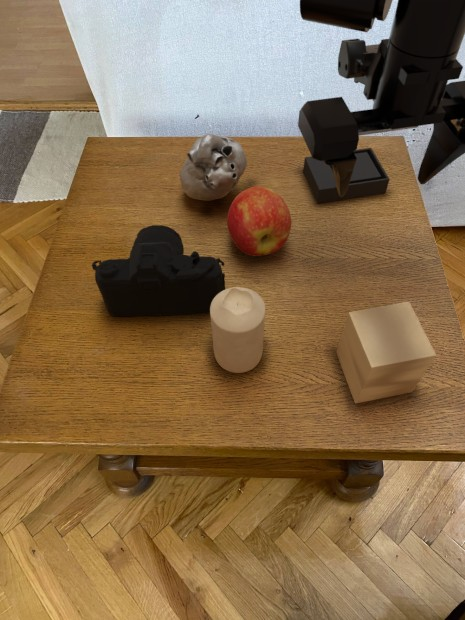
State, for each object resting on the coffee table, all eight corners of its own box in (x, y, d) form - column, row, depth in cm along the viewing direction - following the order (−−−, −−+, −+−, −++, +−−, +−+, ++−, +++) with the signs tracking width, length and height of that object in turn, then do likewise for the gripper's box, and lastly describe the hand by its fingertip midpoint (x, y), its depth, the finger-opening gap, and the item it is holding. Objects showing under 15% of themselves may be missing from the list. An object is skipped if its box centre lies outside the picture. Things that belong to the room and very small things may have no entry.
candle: (220, 379, 53) (217, 329, 45) (208, 337, 56) (203, 284, 48) (268, 366, 54) (273, 316, 46) (254, 326, 57) (256, 272, 49)
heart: (265, 185, 71) (254, 107, 61) (238, 227, 66) (221, 149, 57) (205, 176, 75) (186, 102, 66) (175, 216, 70) (150, 141, 61)
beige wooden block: (389, 342, 56) (409, 301, 49) (412, 392, 52) (436, 355, 45) (335, 352, 55) (348, 312, 48) (355, 403, 51) (371, 367, 45)
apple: (236, 271, 62) (235, 226, 55) (221, 225, 67) (219, 179, 60) (295, 259, 63) (302, 214, 56) (277, 215, 68) (281, 168, 61)
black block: (363, 165, 73) (367, 151, 71) (377, 190, 70) (381, 176, 68) (328, 171, 73) (330, 157, 71) (340, 195, 70) (343, 182, 68)
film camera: (225, 256, 63) (223, 204, 56) (226, 318, 58) (223, 269, 50) (109, 259, 63) (92, 208, 56) (99, 320, 58) (78, 273, 51)
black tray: (367, 161, 74) (371, 147, 72) (385, 192, 70) (389, 179, 68) (302, 171, 73) (304, 157, 71) (317, 203, 69) (319, 189, 67)
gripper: (482, -13, 46) (430, 132, 58) (289, 8, 44) (279, 153, 57) (549, 46, 39) (474, 194, 52) (327, 73, 37) (305, 220, 50)
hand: (380, 187), depth 53 cm, fingers open, 9 cm apart
